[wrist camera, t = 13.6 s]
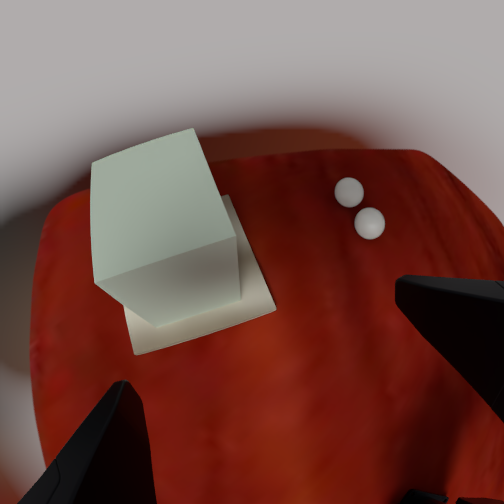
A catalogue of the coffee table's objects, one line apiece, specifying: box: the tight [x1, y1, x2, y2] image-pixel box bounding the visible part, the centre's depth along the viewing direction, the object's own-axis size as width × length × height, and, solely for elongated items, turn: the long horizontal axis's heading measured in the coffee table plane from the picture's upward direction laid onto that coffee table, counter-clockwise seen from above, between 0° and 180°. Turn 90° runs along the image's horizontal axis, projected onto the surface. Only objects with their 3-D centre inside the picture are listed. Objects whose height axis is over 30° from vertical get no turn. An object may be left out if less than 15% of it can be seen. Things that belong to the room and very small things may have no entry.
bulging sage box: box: [90, 128, 241, 328], centre depth 18 cm, size 9×7×10 cm
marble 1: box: [335, 178, 364, 207], centre depth 26 cm, size 3×3×3 cm
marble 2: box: [354, 208, 385, 239], centre depth 24 cm, size 3×3×3 cm
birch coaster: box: [123, 195, 276, 355], centre depth 23 cm, size 12×12×1 cm
